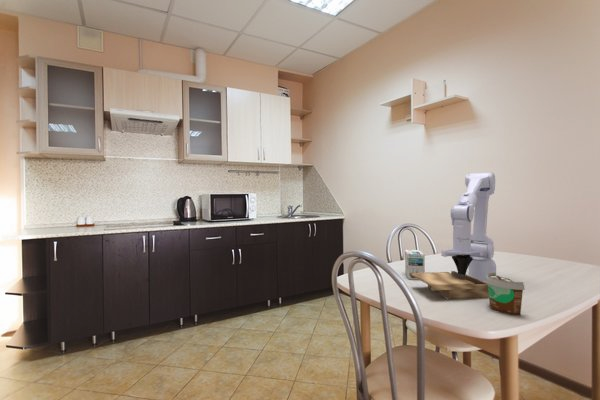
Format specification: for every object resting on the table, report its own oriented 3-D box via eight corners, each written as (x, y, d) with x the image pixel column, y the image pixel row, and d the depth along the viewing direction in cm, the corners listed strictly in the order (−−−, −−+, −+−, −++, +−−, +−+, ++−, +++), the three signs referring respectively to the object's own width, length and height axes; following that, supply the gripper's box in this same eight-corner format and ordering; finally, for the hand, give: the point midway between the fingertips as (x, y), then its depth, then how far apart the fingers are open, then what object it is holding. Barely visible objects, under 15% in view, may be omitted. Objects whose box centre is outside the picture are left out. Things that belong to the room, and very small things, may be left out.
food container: (476, 302, 101) (476, 272, 101) (494, 302, 101) (494, 271, 101) (504, 318, 88) (504, 283, 88) (524, 317, 89) (524, 282, 89)
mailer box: (464, 285, 119) (464, 274, 119) (490, 297, 105) (490, 284, 105) (427, 287, 118) (427, 275, 118) (449, 299, 104) (449, 286, 104)
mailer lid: (447, 276, 119) (447, 268, 119) (474, 288, 104) (474, 279, 104) (410, 277, 118) (410, 269, 118) (431, 290, 102) (431, 280, 102)
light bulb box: (425, 280, 127) (425, 254, 127) (408, 279, 128) (408, 253, 128) (420, 273, 137) (420, 249, 137) (404, 273, 139) (404, 249, 139)
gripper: (449, 240, 107) (449, 279, 107) (488, 239, 108) (488, 278, 108) (438, 237, 114) (438, 274, 114) (475, 236, 115) (474, 272, 115)
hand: (461, 275), depth 112 cm, fingers closed
